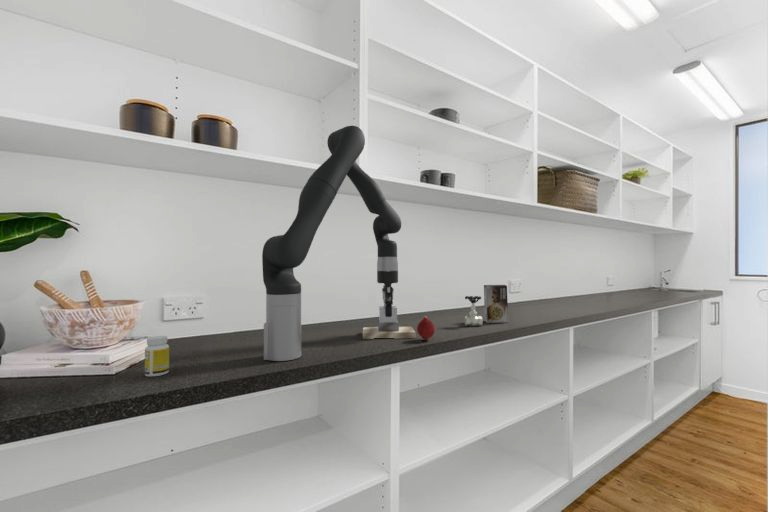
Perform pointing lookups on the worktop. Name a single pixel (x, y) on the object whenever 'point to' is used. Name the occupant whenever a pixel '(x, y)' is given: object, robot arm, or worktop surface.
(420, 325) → the onion
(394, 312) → the block
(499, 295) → the coffee box
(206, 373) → the worktop surface
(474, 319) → the valve
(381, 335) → the shaft stand
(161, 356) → the supplement bottle
